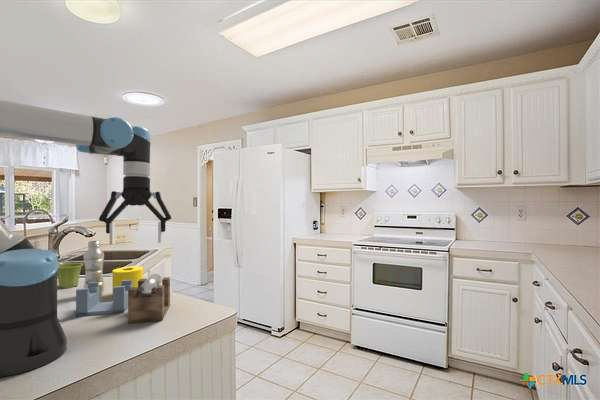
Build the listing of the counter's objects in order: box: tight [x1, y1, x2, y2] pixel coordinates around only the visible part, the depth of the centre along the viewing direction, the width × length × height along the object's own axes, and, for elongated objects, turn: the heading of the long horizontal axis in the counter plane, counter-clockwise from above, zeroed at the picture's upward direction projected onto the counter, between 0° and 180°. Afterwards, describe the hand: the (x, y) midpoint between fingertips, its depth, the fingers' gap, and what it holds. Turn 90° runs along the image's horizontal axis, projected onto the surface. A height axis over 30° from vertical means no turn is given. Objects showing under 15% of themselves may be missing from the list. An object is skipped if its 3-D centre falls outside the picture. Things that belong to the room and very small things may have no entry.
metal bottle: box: [82, 240, 105, 295], centre depth 112 cm, size 6×7×20 cm
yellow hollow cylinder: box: [112, 265, 144, 288], centre depth 113 cm, size 10×10×9 cm
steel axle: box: [138, 273, 163, 297], centre depth 93 cm, size 12×4×4 cm, turn 14°
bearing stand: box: [127, 276, 171, 325], centre depth 93 cm, size 9×13×10 cm
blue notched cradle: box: [75, 280, 132, 317], centre depth 97 cm, size 9×13×8 cm
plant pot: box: [57, 262, 84, 289], centre depth 124 cm, size 9×9×9 cm
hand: (136, 243), depth 96 cm, fingers open, 13 cm apart
